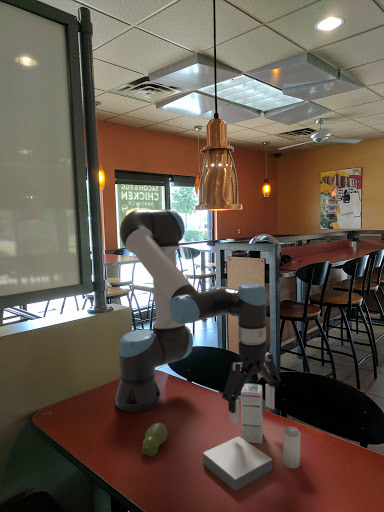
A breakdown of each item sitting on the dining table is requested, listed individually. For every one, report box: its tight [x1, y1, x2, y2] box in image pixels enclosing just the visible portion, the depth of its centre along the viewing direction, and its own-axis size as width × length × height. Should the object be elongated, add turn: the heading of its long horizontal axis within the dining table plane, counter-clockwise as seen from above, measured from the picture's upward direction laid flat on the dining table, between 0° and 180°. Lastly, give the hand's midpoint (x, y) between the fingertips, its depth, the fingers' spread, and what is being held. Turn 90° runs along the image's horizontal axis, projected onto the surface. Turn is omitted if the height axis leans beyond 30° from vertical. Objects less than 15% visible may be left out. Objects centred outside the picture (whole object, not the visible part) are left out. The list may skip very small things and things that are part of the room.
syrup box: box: [240, 383, 264, 444], centre depth 106 cm, size 6×6×14 cm
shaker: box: [282, 426, 301, 469], centre depth 95 cm, size 4×4×9 cm
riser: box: [202, 435, 273, 492], centre depth 94 cm, size 12×12×3 cm
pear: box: [141, 422, 168, 457], centre depth 102 cm, size 6×5×10 cm
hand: (253, 414), depth 105 cm, fingers open, 13 cm apart
